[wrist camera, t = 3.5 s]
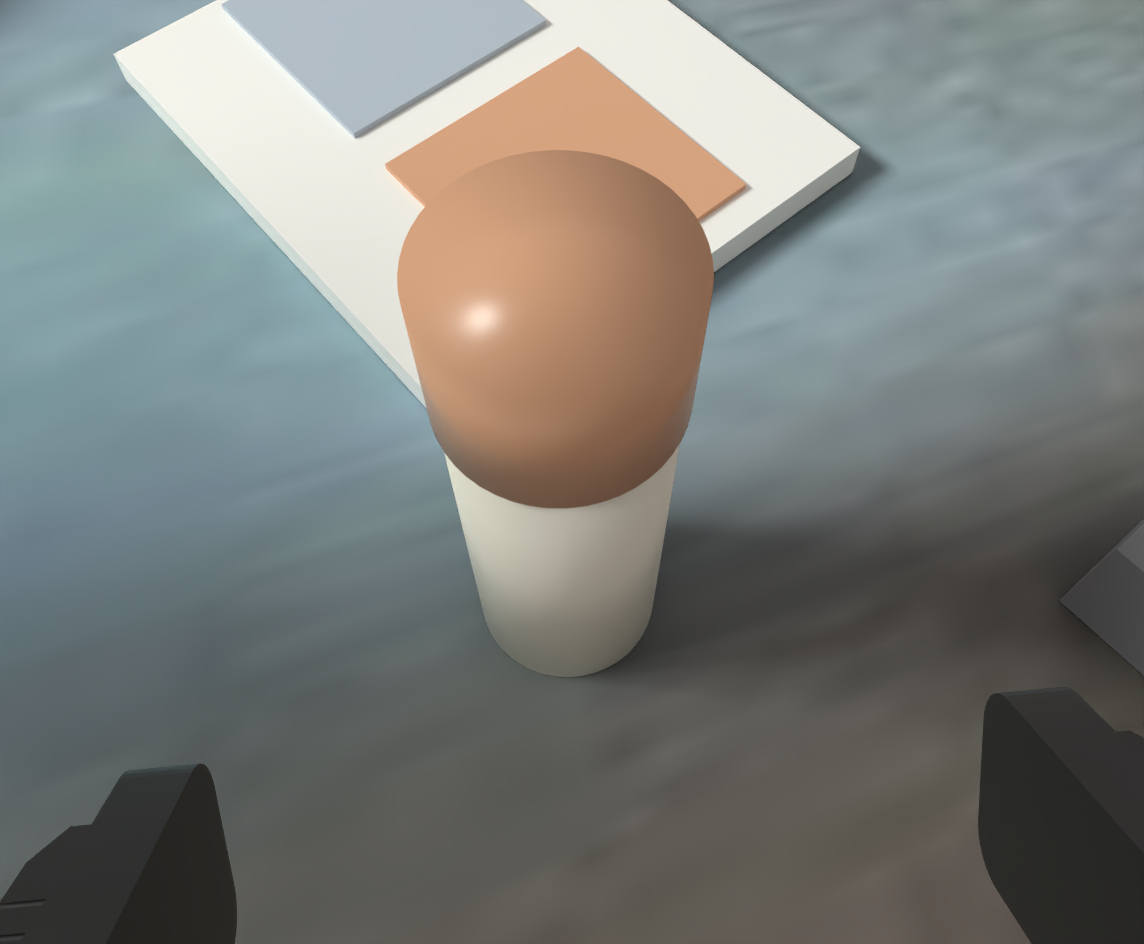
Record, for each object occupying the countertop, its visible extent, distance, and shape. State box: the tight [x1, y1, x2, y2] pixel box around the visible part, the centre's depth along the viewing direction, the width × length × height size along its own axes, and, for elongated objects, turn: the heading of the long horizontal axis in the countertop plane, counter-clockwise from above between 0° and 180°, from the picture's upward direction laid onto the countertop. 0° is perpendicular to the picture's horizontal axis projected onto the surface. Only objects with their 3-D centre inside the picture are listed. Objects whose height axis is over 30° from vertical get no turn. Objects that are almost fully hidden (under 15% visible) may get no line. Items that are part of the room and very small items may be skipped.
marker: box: [397, 150, 714, 677], centre depth 19 cm, size 4×4×12 cm
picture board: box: [114, 0, 860, 407], centre depth 31 cm, size 14×17×1 cm
